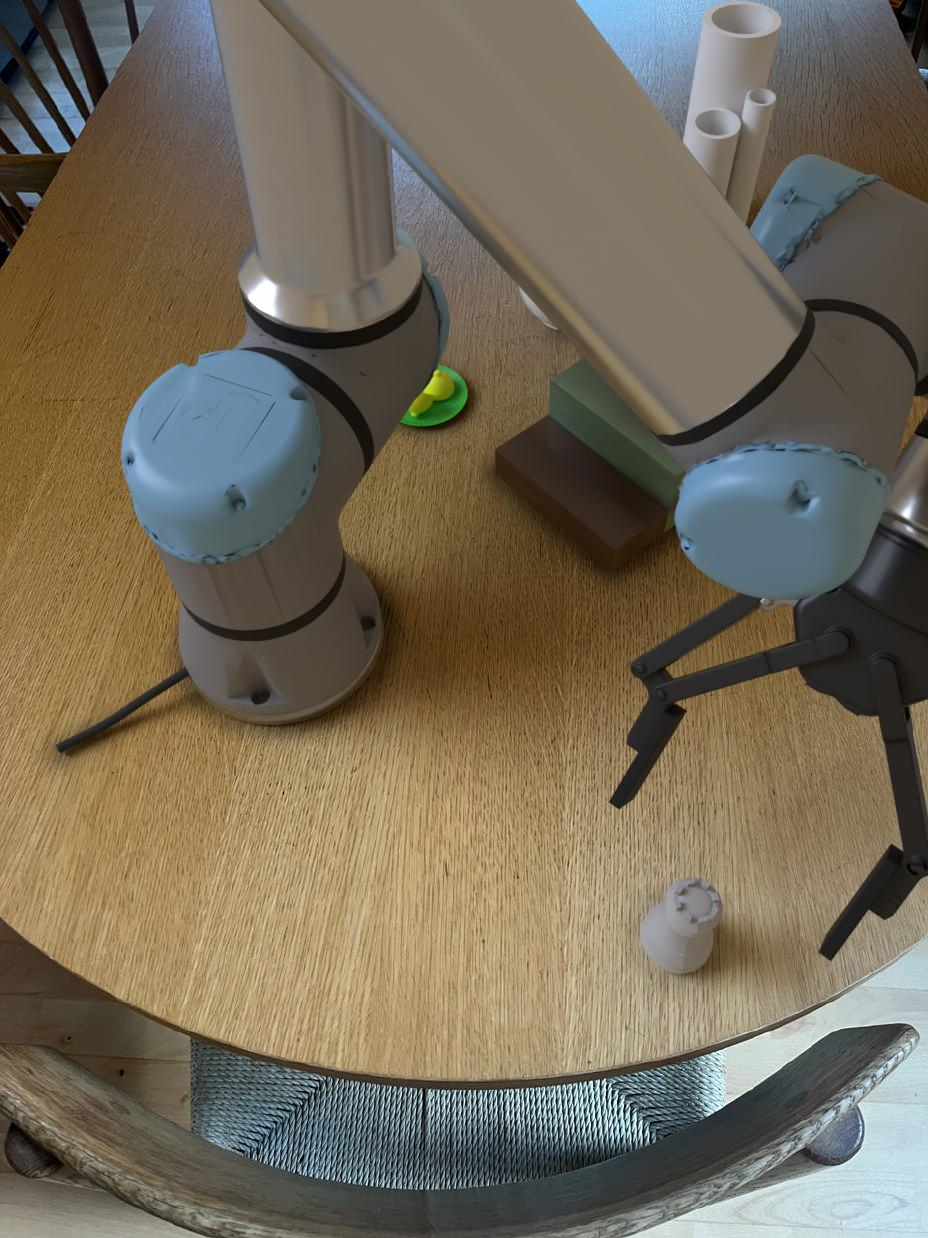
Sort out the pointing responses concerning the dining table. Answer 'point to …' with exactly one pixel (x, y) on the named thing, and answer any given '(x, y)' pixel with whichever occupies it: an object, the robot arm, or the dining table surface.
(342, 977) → the dining table surface
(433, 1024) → the dining table surface
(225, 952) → the dining table surface
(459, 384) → the green plate with lemons
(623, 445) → the step shelf
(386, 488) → the dining table surface
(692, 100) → the vase
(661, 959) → the rook chess piece
